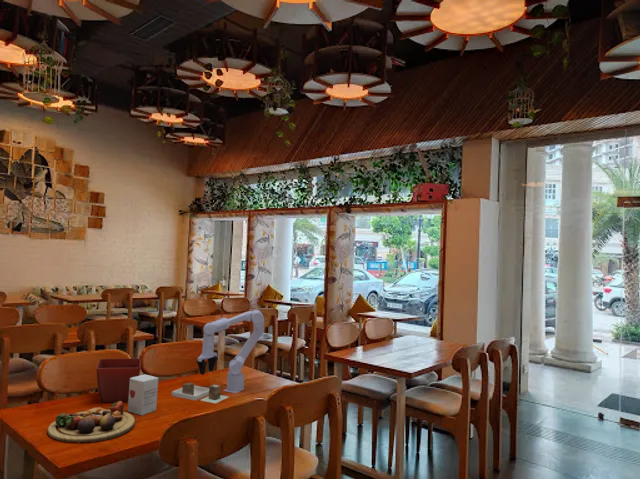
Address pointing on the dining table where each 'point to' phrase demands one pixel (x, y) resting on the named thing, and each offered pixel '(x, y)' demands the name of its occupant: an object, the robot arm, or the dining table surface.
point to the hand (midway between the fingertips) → (206, 372)
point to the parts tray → (198, 393)
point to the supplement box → (142, 394)
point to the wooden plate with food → (92, 424)
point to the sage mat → (214, 400)
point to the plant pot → (116, 378)
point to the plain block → (188, 388)
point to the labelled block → (214, 392)
